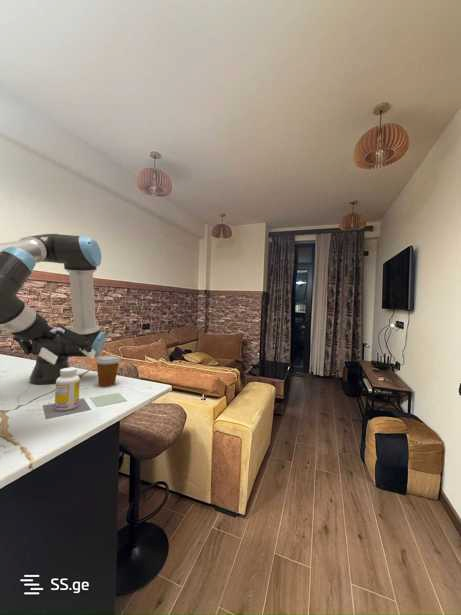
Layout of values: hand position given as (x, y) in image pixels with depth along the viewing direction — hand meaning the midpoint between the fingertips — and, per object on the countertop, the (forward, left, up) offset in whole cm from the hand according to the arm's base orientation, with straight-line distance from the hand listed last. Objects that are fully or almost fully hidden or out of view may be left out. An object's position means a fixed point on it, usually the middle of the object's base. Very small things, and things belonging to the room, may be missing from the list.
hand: (74, 358), depth 80 cm
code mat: (-2, -1, -17) cm, 17 cm away
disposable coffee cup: (-20, +16, -17) cm, 30 cm away
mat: (-2, +12, -17) cm, 21 cm away
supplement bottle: (-2, -1, -17) cm, 17 cm away
